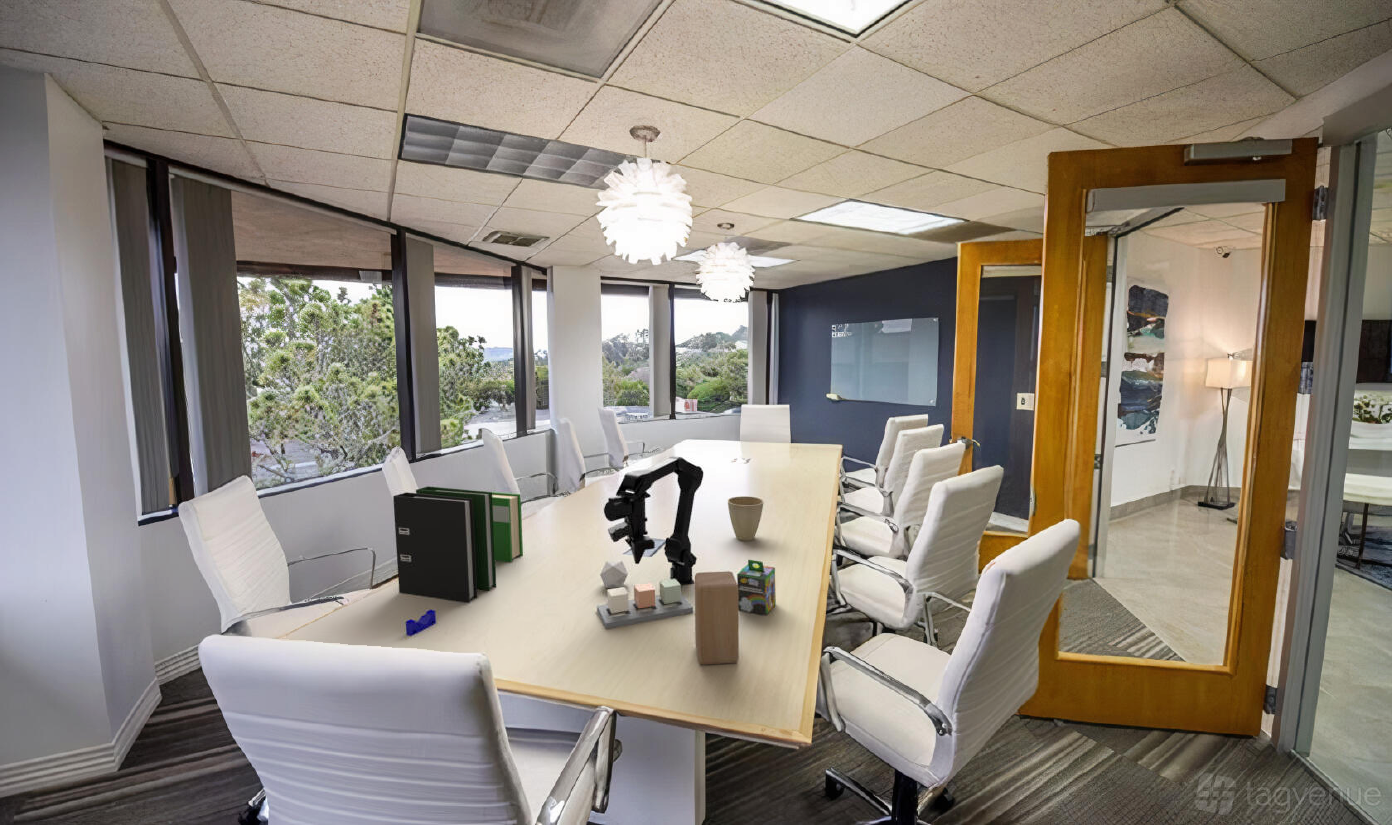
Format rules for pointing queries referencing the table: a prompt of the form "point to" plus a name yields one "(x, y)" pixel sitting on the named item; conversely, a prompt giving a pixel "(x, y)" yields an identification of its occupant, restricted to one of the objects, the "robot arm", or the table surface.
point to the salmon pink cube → (644, 595)
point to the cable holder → (421, 623)
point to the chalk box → (756, 588)
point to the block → (716, 618)
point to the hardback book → (507, 526)
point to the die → (614, 574)
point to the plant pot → (745, 516)
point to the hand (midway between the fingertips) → (637, 563)
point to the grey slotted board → (643, 613)
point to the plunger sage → (670, 591)
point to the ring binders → (445, 543)
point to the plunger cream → (618, 600)
